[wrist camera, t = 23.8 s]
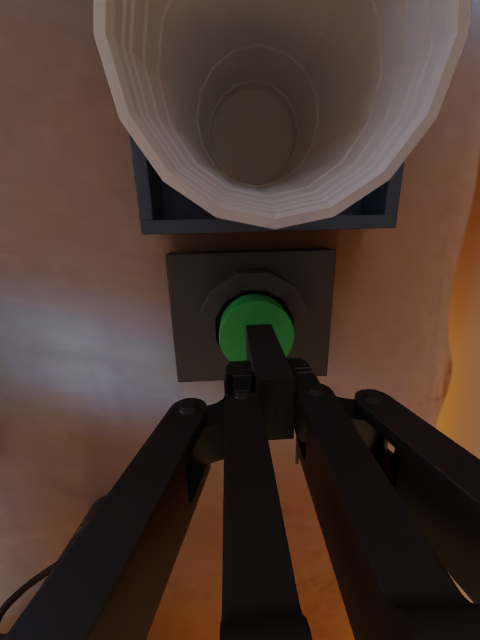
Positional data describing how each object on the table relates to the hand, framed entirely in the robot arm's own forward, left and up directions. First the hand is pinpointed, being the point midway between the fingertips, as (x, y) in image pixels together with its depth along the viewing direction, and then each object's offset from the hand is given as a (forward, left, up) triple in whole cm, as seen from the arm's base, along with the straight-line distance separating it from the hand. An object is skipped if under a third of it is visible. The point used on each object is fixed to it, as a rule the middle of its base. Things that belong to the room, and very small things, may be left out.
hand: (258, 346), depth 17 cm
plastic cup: (-12, 0, -6) cm, 14 cm away
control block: (0, 0, -7) cm, 7 cm away
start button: (0, 0, -3) cm, 3 cm away
